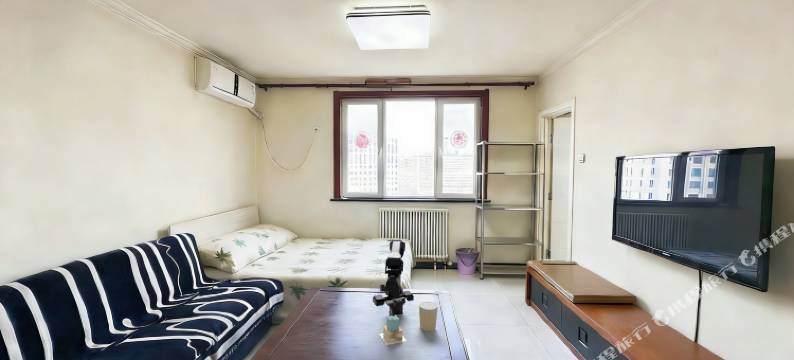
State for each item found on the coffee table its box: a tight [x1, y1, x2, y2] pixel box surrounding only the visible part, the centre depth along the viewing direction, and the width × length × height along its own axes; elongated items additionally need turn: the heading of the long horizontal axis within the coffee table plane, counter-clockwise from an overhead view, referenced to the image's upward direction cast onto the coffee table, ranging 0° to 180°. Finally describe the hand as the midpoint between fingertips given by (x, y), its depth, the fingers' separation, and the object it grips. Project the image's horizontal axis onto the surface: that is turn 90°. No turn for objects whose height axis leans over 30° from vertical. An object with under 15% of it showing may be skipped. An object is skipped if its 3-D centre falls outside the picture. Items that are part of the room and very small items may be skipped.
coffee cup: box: [418, 301, 439, 333], centre depth 159 cm, size 9×9×12 cm
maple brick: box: [382, 324, 404, 343], centre depth 149 cm, size 7×7×4 cm
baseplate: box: [379, 332, 407, 346], centre depth 150 cm, size 10×10×1 cm
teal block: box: [386, 315, 400, 331], centre depth 149 cm, size 4×4×5 cm
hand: (393, 315), depth 149 cm, fingers closed
